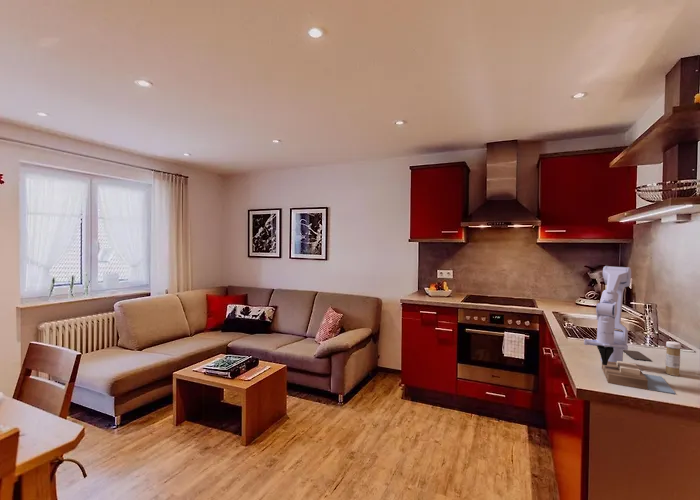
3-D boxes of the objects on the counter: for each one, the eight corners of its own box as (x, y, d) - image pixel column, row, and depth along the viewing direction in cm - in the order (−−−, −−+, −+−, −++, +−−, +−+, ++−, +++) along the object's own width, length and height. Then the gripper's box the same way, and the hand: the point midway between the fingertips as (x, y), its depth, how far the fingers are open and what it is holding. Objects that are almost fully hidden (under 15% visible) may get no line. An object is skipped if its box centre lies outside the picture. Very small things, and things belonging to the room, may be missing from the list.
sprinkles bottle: (677, 373, 148) (678, 341, 148) (681, 377, 144) (683, 344, 144) (663, 371, 150) (664, 340, 150) (667, 375, 146) (668, 343, 146)
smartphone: (621, 351, 179) (633, 360, 165) (621, 349, 179) (633, 358, 165) (638, 352, 176) (653, 362, 162) (638, 351, 176) (653, 360, 162)
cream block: (616, 365, 147) (616, 360, 147) (634, 368, 144) (634, 363, 144) (620, 372, 139) (620, 367, 139) (639, 375, 136) (640, 370, 136)
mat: (637, 373, 147) (637, 372, 147) (661, 377, 144) (661, 376, 144) (648, 389, 132) (648, 388, 132) (675, 394, 128) (675, 393, 128)
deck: (601, 368, 153) (602, 360, 153) (636, 373, 148) (636, 365, 147) (608, 382, 138) (608, 374, 138) (647, 389, 132) (647, 380, 132)
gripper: (585, 331, 145) (584, 364, 146) (629, 336, 138) (628, 370, 138) (584, 327, 151) (582, 358, 152) (626, 332, 144) (625, 365, 145)
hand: (604, 364), depth 146 cm, fingers closed
